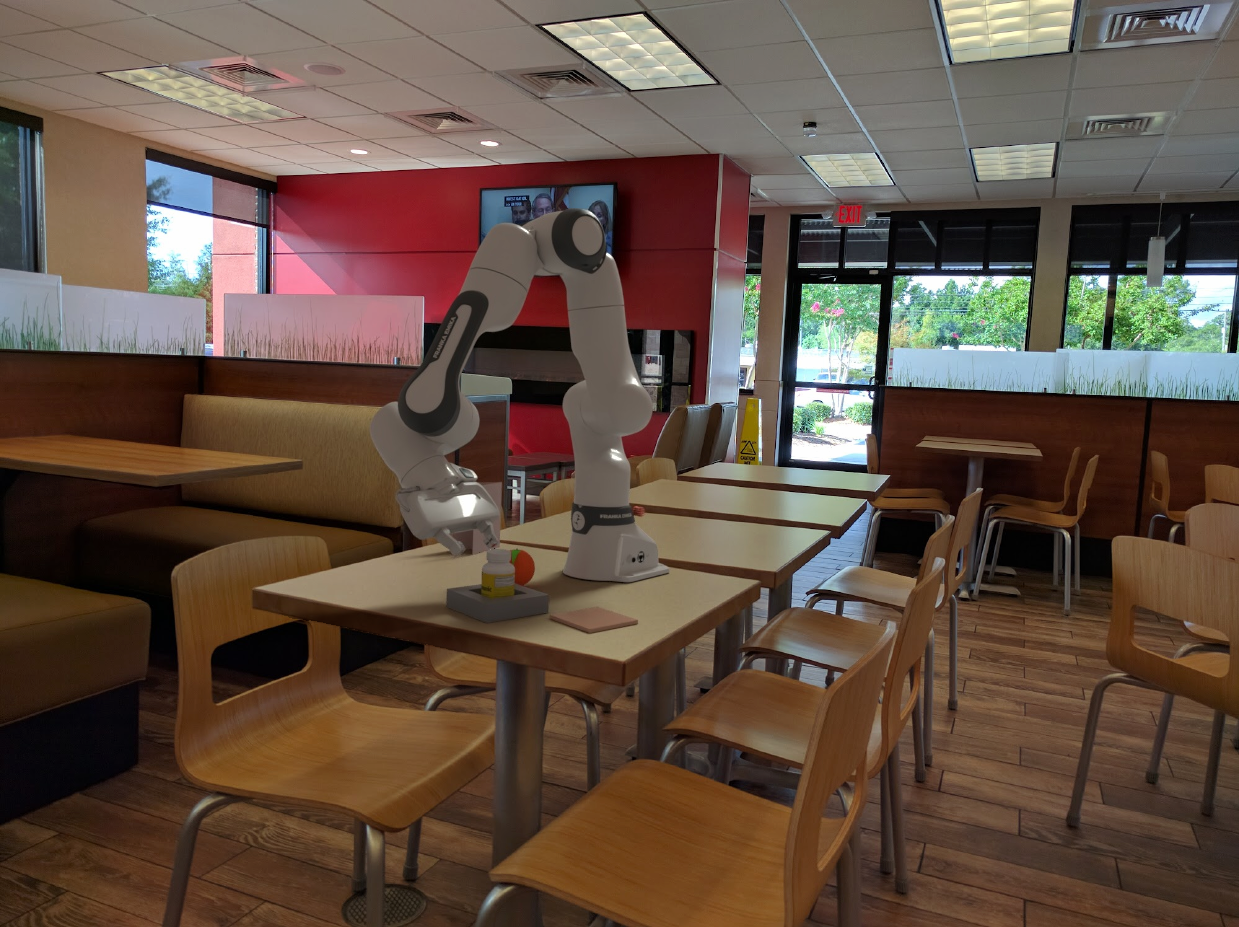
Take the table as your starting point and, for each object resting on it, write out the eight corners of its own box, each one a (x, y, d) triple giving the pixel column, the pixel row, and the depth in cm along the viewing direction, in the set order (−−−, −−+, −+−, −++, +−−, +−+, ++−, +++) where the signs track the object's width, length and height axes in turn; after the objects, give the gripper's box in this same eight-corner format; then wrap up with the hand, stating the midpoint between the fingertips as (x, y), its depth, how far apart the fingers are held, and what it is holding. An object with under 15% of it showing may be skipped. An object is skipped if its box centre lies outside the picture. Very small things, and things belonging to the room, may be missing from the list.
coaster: (597, 610, 146) (597, 606, 146) (637, 623, 139) (638, 620, 139) (549, 618, 140) (549, 614, 140) (589, 633, 132) (589, 629, 132)
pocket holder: (506, 597, 152) (507, 580, 152) (548, 612, 143) (549, 594, 143) (446, 606, 144) (446, 588, 144) (486, 623, 135) (487, 604, 135)
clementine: (531, 593, 156) (532, 553, 156) (492, 591, 157) (494, 552, 156) (536, 583, 164) (537, 546, 164) (499, 581, 164) (500, 544, 164)
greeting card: (498, 546, 200) (500, 481, 199) (511, 552, 194) (514, 485, 193) (450, 549, 194) (452, 482, 193) (463, 555, 188) (465, 486, 187)
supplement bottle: (476, 606, 145) (478, 548, 144) (508, 604, 147) (510, 547, 146) (485, 615, 140) (487, 554, 139) (517, 613, 142) (519, 553, 141)
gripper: (402, 477, 138) (450, 546, 134) (479, 470, 156) (523, 530, 152) (379, 502, 140) (426, 570, 136) (458, 492, 158) (500, 552, 155)
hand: (477, 549), depth 145 cm, fingers open, 8 cm apart
